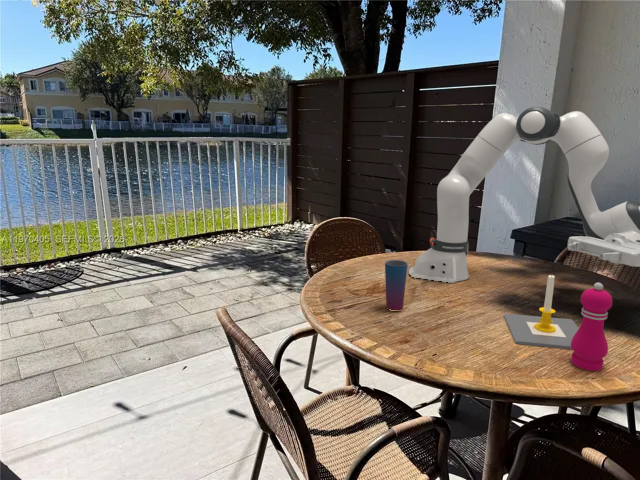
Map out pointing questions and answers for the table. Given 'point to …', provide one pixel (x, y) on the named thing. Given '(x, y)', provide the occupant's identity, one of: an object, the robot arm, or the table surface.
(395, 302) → the cup
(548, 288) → the candle
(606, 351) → the pepper mill
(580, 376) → the table surface
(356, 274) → the table surface
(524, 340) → the tile
